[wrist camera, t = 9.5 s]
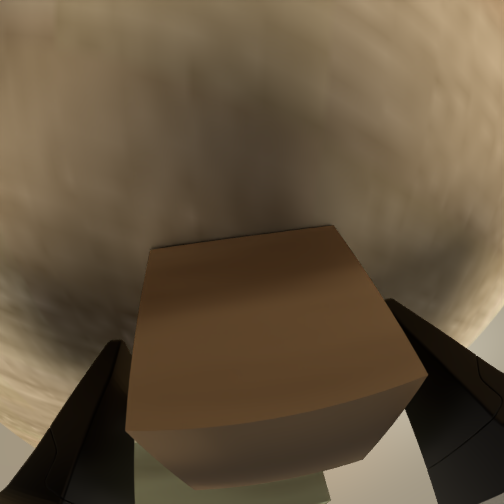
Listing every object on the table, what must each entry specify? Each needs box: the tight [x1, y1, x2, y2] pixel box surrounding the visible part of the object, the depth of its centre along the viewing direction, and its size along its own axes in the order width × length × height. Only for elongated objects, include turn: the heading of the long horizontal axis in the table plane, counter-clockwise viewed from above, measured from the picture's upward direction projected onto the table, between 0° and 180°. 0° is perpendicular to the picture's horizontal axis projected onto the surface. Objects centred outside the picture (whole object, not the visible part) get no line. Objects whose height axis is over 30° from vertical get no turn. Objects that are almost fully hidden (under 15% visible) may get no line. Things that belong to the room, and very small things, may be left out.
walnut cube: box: [125, 225, 428, 490], centre depth 8 cm, size 5×5×5 cm
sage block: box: [134, 443, 331, 504], centre depth 12 cm, size 6×10×4 cm, turn 94°
